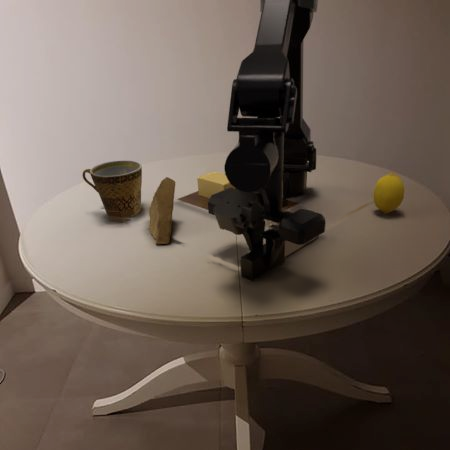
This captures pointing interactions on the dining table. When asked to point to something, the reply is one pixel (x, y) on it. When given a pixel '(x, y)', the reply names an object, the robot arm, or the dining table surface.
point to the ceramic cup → (118, 188)
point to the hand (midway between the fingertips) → (263, 263)
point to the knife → (264, 260)
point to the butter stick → (212, 184)
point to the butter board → (203, 201)
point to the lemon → (388, 193)
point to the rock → (162, 211)
